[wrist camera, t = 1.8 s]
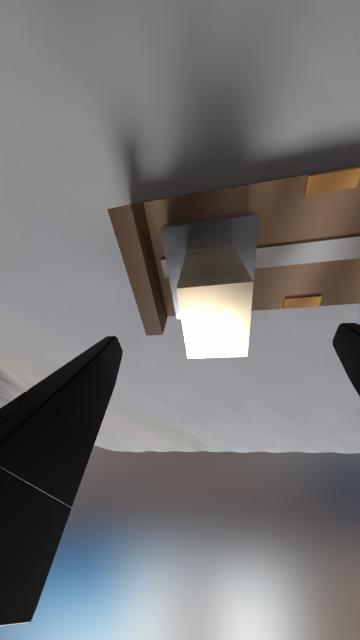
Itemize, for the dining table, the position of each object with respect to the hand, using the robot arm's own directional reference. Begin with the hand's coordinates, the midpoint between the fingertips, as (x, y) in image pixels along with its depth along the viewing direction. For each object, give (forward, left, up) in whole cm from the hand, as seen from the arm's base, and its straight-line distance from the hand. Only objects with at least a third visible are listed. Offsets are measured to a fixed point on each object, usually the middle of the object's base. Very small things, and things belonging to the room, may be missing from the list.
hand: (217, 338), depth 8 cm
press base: (-5, 0, -11) cm, 12 cm away
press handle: (0, 0, -9) cm, 9 cm away
